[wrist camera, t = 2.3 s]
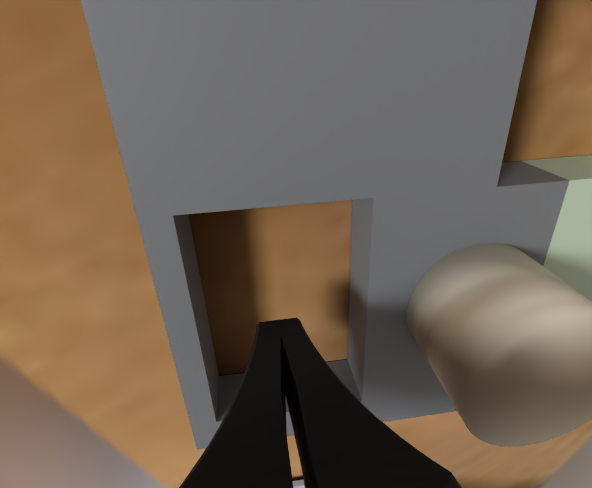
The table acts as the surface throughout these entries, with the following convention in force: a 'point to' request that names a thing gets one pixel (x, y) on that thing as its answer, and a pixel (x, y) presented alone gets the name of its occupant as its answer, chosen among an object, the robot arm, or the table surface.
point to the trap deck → (333, 159)
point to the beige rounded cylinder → (506, 343)
